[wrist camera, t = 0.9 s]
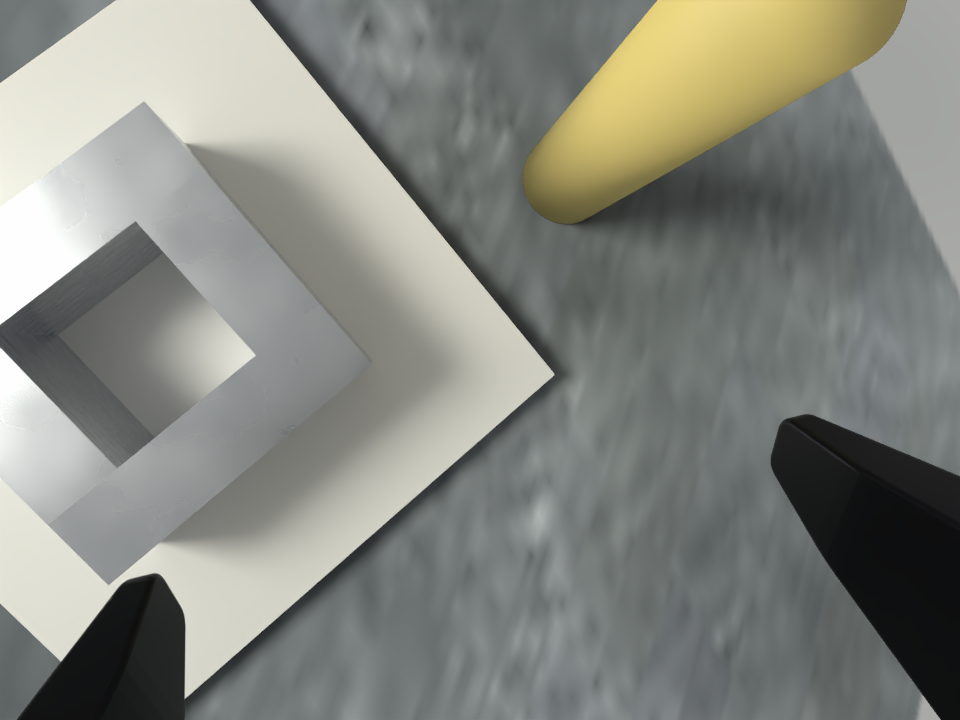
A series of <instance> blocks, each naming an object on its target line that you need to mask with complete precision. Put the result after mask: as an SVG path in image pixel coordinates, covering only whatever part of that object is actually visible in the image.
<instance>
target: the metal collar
mask: <svg viewBox="0 0 960 720" xmlns="http://www.w3.org/2000/svg"><path fill="white" fill-rule="evenodd" d="M163 253H165V255H166V256H167V257H168V258H169V259H170V260H171V261H172V262H173V263H174V265H175V266H176V267H177V268H178V269H179V270H180V271H181V272H182V274H183V275H184V276H185V277H186V278H187V279H188V280H189V281H190V282H191V284H192V285H193V286H194V287H195V288H196V289H197V290H198V291H199V292H200V294H201V295H202V296H203V297H204V298H205V299H206V300H207V301H208V303H209V304H210V305H211V306H212V307H213V308H214V309H215V310H216V311H217V313H218V314H219V315H220V316H221V317H222V318H223V319H224V320H225V321H226V323H227V324H228V325H229V326H230V327H231V328H232V329H233V330H234V332H235V333H236V334H237V335H238V336H239V337H240V338H241V339H242V340H243V342H244V343H245V344H246V345H247V346H248V347H249V348H250V349H251V350H252V352H253V353H254V354H255V355H256V356H255V357H253V358H252V359H251V360H250V361H248V362H247V363H246V364H245V365H243V366H242V367H241V368H240V369H239V370H237V371H236V372H235V373H234V374H232V375H231V376H230V377H229V378H228V379H226V380H225V381H224V382H223V383H221V384H220V385H219V386H218V387H216V388H215V389H214V390H213V391H212V392H210V393H209V394H208V395H207V396H205V397H204V398H203V399H202V400H201V401H199V402H198V403H197V404H196V405H194V406H193V407H192V408H191V409H190V410H188V411H187V412H186V413H185V414H183V415H182V416H181V417H180V418H178V419H177V420H176V421H175V422H174V423H172V424H171V425H170V426H169V427H167V428H166V429H165V430H164V431H163V432H161V433H160V434H159V435H158V436H156V437H154V436H153V435H152V434H151V433H150V432H149V431H148V430H147V429H146V428H145V427H144V426H143V425H142V423H141V422H140V421H139V420H138V419H137V418H136V417H135V416H134V415H133V414H132V413H131V412H130V411H129V410H128V409H127V408H126V407H125V406H124V404H123V403H122V402H121V401H120V400H119V399H118V398H117V397H116V396H115V395H114V394H113V393H112V392H111V391H110V390H109V389H108V388H107V387H106V385H105V384H104V383H103V382H102V381H101V380H100V379H99V378H98V377H97V376H96V375H95V374H94V373H93V372H92V371H91V370H90V369H89V368H88V367H87V365H86V364H85V363H84V362H83V361H82V360H81V359H80V358H79V357H78V356H77V355H76V354H75V353H74V352H73V351H72V350H71V349H70V348H69V346H68V345H67V344H66V343H65V342H64V341H63V340H62V339H61V338H60V337H59V336H58V335H59V334H60V333H61V332H62V331H64V330H65V329H66V328H68V327H69V326H70V325H71V324H73V323H74V322H75V321H77V320H78V319H79V318H80V317H82V316H83V315H84V314H86V313H87V312H88V311H89V310H91V309H92V308H93V307H95V306H96V305H97V304H98V303H100V302H101V301H102V300H104V299H105V298H106V297H107V296H109V295H110V294H111V293H113V292H114V291H115V290H116V289H118V288H119V287H120V286H122V285H123V284H124V283H125V282H127V281H128V280H129V279H131V278H132V277H133V276H134V275H136V274H137V273H138V272H140V271H141V270H142V269H143V268H145V267H146V266H147V265H149V264H150V263H151V262H152V261H154V260H155V259H156V258H158V257H159V256H160V255H161V254H163ZM372 361H373V360H372V359H371V358H370V356H369V355H368V354H367V353H366V352H365V351H364V350H363V348H362V347H361V346H360V345H359V344H358V343H357V341H356V340H355V339H354V338H353V337H352V336H351V334H350V333H349V332H348V331H347V330H346V329H345V328H344V326H343V325H342V324H341V323H340V322H339V321H338V319H337V318H336V317H335V316H334V315H333V314H332V313H331V311H330V310H329V309H328V308H327V307H326V306H325V304H324V303H323V302H322V301H321V300H320V299H319V297H318V296H317V295H316V294H315V293H314V292H313V291H312V289H311V288H310V287H309V286H308V285H307V284H306V282H305V281H304V280H303V279H302V278H301V277H300V275H299V274H298V273H297V272H296V271H295V270H294V269H293V267H292V266H291V265H290V264H289V263H288V262H287V260H286V259H285V258H284V257H283V256H282V255H281V254H280V252H279V251H278V250H277V249H276V248H275V247H274V245H273V244H272V243H271V242H270V241H269V240H268V238H267V237H266V236H265V235H264V234H263V233H262V232H261V230H260V229H259V228H258V227H257V226H256V225H255V223H254V222H253V221H252V220H251V219H250V218H249V216H248V215H247V214H246V213H245V212H244V211H243V210H242V208H241V207H240V206H239V205H238V204H237V203H236V201H235V200H234V199H233V198H232V197H231V196H230V195H229V193H228V192H227V191H226V190H225V189H224V188H223V186H222V185H221V184H220V183H219V182H218V181H217V179H216V178H215V177H214V176H213V175H212V174H211V173H210V171H209V170H208V169H207V168H206V167H205V166H204V164H203V163H202V162H201V161H200V160H199V159H198V157H197V156H196V155H195V154H194V153H193V152H192V151H191V149H190V148H189V147H188V146H187V145H186V144H185V143H184V142H183V140H182V139H181V138H180V137H179V136H178V135H177V134H176V133H175V132H174V131H173V130H172V129H171V128H170V127H169V126H168V125H167V124H166V123H165V122H164V121H163V120H162V119H161V118H160V117H159V116H158V115H157V114H156V113H155V112H154V111H153V110H152V109H151V108H150V107H149V106H148V105H147V104H146V102H145V101H144V102H142V103H141V104H140V105H138V106H137V107H136V108H134V109H133V110H131V111H130V112H129V113H127V114H126V115H125V116H123V117H122V118H121V119H119V120H118V121H117V122H115V123H114V124H113V125H111V126H110V127H109V128H107V129H106V130H105V131H103V132H102V133H100V134H99V135H98V136H96V137H95V138H94V139H92V140H91V141H90V142H88V143H87V144H86V145H84V146H83V147H82V148H80V149H79V150H78V151H76V152H75V153H74V154H72V155H71V156H69V157H68V158H67V159H65V160H64V161H63V162H61V163H60V164H59V165H57V166H56V167H55V168H53V169H52V170H51V171H49V172H48V173H47V174H45V175H44V176H43V177H41V178H40V179H38V180H37V181H36V182H34V183H33V184H32V185H30V186H29V187H28V188H26V189H25V190H24V191H22V192H21V193H20V194H18V195H17V196H16V197H14V198H13V199H12V200H10V201H9V202H8V203H6V204H5V205H3V206H2V207H1V208H0V478H1V479H2V480H3V481H4V482H5V483H6V484H7V485H8V486H9V487H10V488H11V489H12V490H13V491H14V492H15V493H16V494H17V495H18V496H19V497H20V498H21V499H22V500H23V501H24V502H25V503H26V504H27V505H28V506H29V507H30V508H31V509H32V510H33V511H34V512H35V513H36V514H37V515H38V516H39V517H40V518H41V519H42V520H43V521H44V522H45V523H46V524H47V525H48V526H49V527H50V528H51V529H52V530H53V531H54V532H55V533H56V534H57V535H58V536H59V537H60V538H61V539H62V540H63V541H64V542H65V543H66V544H67V545H68V546H69V547H70V548H71V549H72V550H73V551H74V552H75V553H76V554H77V555H78V556H79V557H80V558H81V559H82V560H83V561H84V562H85V563H86V564H87V565H88V566H89V567H90V568H91V569H92V570H93V571H94V572H95V573H96V574H97V575H99V576H100V577H101V578H102V579H103V580H104V581H105V582H106V583H107V584H108V585H110V584H111V583H112V582H113V581H115V580H116V579H117V578H118V577H119V576H120V575H122V574H123V573H124V572H125V571H126V570H128V569H129V568H130V567H131V566H132V565H134V564H135V563H136V562H137V561H138V560H140V559H141V558H142V557H143V556H144V555H146V554H147V553H148V552H149V551H150V550H151V549H153V548H154V547H155V546H156V545H157V544H159V543H160V542H161V541H162V540H163V539H165V538H166V537H167V536H168V535H169V534H171V533H172V532H173V531H174V530H175V529H177V528H178V527H179V526H180V525H181V524H182V523H184V522H185V521H186V520H187V519H188V518H190V517H191V516H192V515H193V514H194V513H196V512H197V511H198V510H199V509H200V508H202V507H203V506H204V505H205V504H206V503H208V502H209V501H210V500H211V499H212V498H213V497H215V496H216V495H217V494H218V493H219V492H221V491H222V490H223V489H224V488H225V487H227V486H228V485H229V484H230V483H231V482H233V481H234V480H235V479H236V478H237V477H239V476H240V475H241V474H242V473H243V472H244V471H246V470H247V469H248V468H249V467H250V466H252V465H253V464H254V463H255V462H256V461H258V460H259V459H260V458H261V457H262V456H264V455H265V454H266V453H267V452H268V451H270V450H271V449H272V448H273V447H274V446H275V445H277V444H278V443H279V442H280V441H281V440H283V439H284V438H285V437H286V436H287V435H289V434H290V433H291V432H292V431H293V430H295V429H296V428H297V427H298V426H299V425H301V424H302V423H303V422H304V421H305V420H306V419H308V418H309V417H310V416H311V415H312V414H314V413H315V412H316V411H317V410H318V409H320V408H321V407H322V406H323V405H324V404H326V403H327V402H328V401H329V400H330V399H332V398H333V397H334V396H335V395H336V394H337V393H339V392H340V391H341V390H342V389H343V388H345V387H346V386H347V385H348V384H349V383H351V382H352V381H353V380H354V379H355V378H357V377H358V376H359V375H360V374H361V373H363V372H364V371H365V370H366V369H367V368H368V367H370V366H371V365H372Z"/></svg>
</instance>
